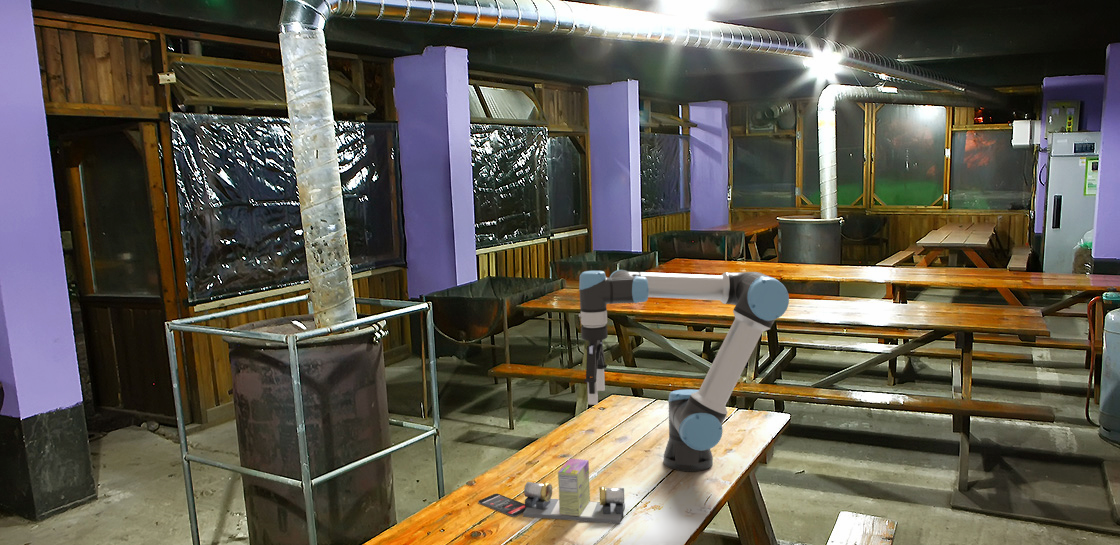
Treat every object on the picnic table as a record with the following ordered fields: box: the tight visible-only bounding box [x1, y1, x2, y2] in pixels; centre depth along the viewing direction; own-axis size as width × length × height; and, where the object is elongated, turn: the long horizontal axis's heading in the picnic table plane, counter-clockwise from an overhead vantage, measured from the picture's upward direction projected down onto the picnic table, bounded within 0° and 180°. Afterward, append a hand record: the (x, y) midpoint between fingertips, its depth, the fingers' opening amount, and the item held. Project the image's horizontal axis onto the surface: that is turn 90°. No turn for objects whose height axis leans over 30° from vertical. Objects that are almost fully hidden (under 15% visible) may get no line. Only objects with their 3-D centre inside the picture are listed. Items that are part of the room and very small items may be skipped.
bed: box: [522, 498, 626, 525], centre depth 206 cm, size 26×10×1 cm, turn 77°
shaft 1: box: [523, 481, 553, 510], centre depth 208 cm, size 6×5×7 cm
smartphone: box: [477, 493, 525, 518], centre depth 211 cm, size 7×1×15 cm
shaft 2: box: [599, 486, 625, 519], centre depth 204 cm, size 6×5×7 cm
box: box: [557, 458, 591, 516], centre depth 205 cm, size 10×6×12 cm, turn 162°
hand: (596, 397), depth 221 cm, fingers open, 13 cm apart
